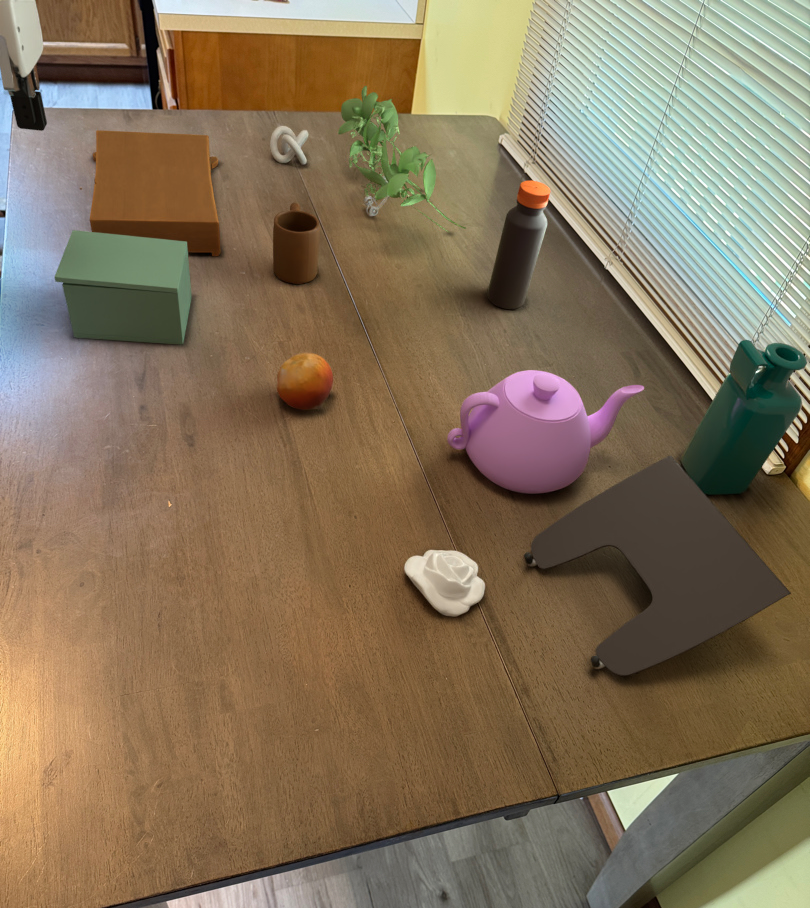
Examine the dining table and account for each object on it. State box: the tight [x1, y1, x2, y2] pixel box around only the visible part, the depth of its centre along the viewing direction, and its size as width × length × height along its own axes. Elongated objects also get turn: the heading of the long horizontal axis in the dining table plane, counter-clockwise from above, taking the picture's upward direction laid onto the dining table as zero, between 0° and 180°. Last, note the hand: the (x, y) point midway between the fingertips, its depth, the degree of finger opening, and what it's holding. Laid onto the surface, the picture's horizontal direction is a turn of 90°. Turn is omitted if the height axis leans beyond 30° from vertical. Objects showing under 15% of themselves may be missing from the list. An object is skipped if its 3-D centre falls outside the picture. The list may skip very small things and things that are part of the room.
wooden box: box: [89, 129, 222, 257], centre depth 138 cm, size 23×6×35 cm
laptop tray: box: [523, 454, 792, 677], centre depth 94 cm, size 23×23×9 cm
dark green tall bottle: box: [680, 339, 808, 496], centre depth 105 cm, size 10×8×22 cm
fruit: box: [276, 352, 334, 411], centre depth 110 cm, size 8×8×8 cm
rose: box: [403, 549, 486, 617], centre depth 92 cm, size 10×4×10 cm
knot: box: [269, 125, 309, 165], centre depth 156 cm, size 8×8×6 cm
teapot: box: [446, 369, 645, 495], centre depth 105 cm, size 25×18×14 cm
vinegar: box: [486, 180, 551, 310], centre depth 128 cm, size 7×7×20 cm
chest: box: [61, 248, 193, 346], centre depth 115 cm, size 16×13×9 cm
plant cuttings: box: [337, 85, 467, 233], centre depth 145 cm, size 35×17×22 cm
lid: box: [53, 229, 187, 293], centre depth 111 cm, size 16×13×1 cm
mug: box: [272, 202, 321, 285], centre depth 130 cm, size 12×8×9 cm, turn 7°
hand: (32, 126), depth 97 cm, fingers closed
